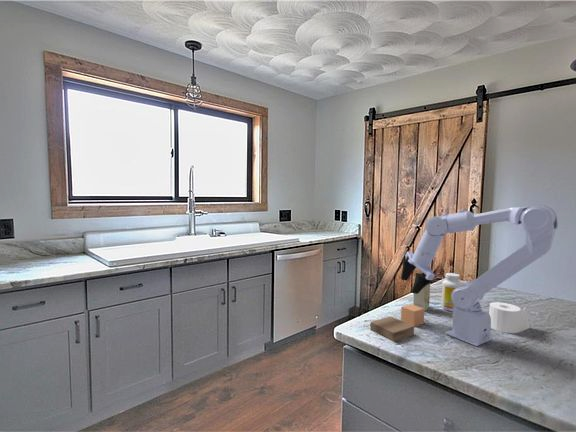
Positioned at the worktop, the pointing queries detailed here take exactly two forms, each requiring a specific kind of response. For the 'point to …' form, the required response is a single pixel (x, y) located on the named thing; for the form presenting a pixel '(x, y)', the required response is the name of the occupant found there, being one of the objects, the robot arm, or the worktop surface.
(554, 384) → the worktop surface
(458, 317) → the robot arm
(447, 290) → the supplement bottle
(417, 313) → the orange cube
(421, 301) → the skincare box
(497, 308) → the toilet paper
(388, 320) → the walnut block
